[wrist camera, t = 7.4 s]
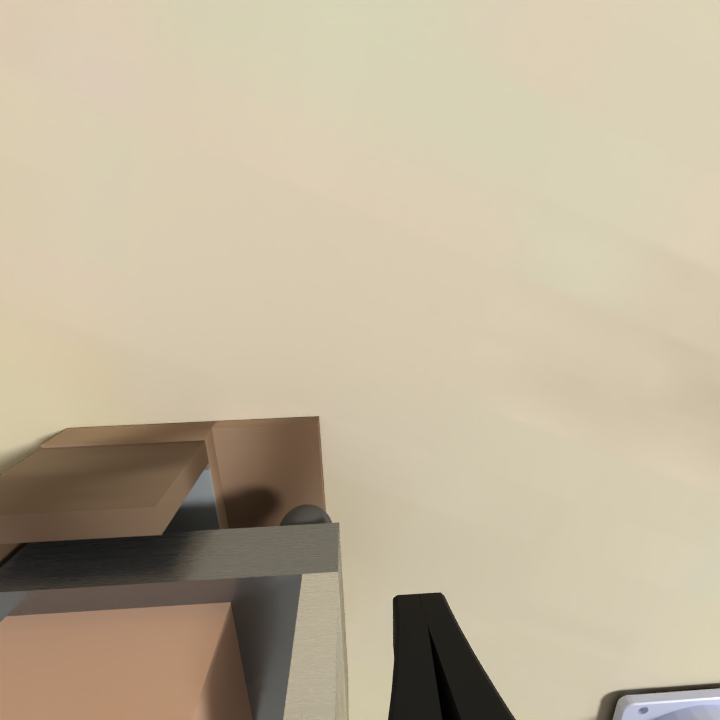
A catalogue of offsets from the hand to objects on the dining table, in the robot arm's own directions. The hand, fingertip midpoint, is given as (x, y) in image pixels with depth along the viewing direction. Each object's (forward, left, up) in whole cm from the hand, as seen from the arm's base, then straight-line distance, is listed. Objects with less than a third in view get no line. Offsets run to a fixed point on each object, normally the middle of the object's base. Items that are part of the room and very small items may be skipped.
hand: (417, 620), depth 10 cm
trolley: (+6, 0, -2) cm, 6 cm away
